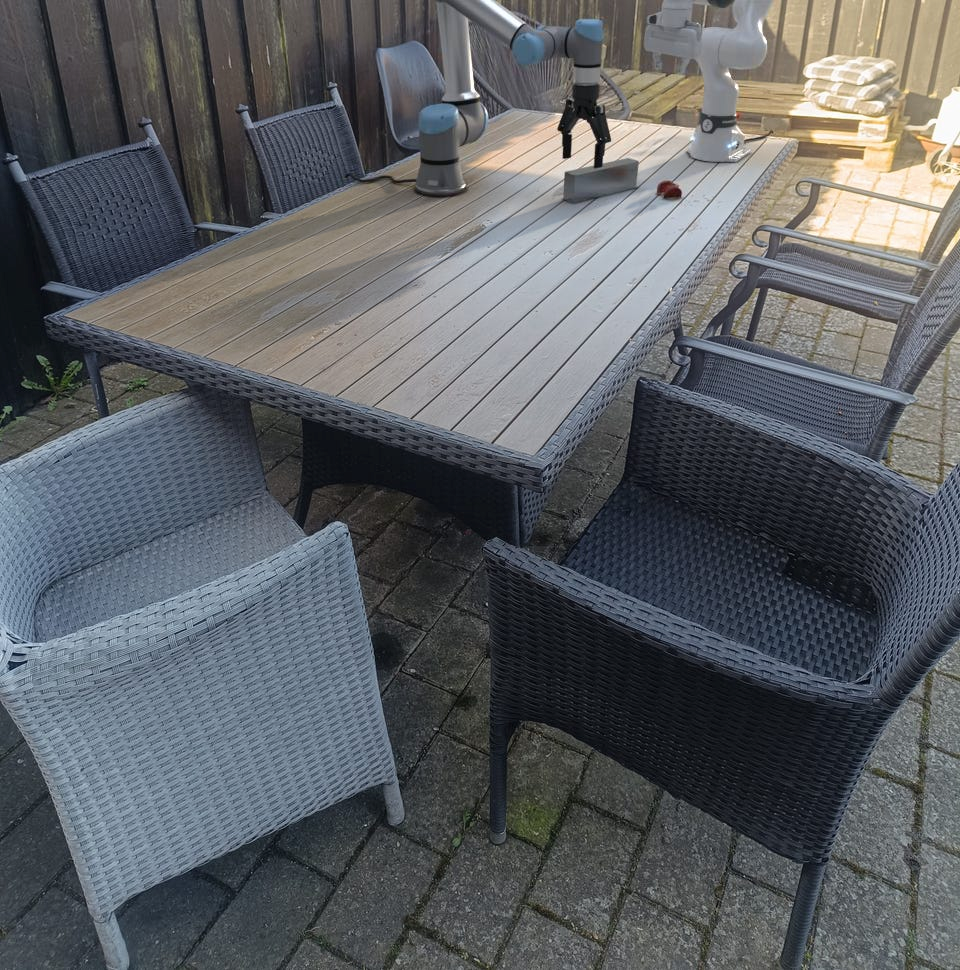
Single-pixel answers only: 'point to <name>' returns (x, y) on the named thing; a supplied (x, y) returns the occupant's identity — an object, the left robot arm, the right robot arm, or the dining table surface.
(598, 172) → the bar
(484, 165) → the dining table surface
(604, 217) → the dining table surface
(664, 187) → the dental model
